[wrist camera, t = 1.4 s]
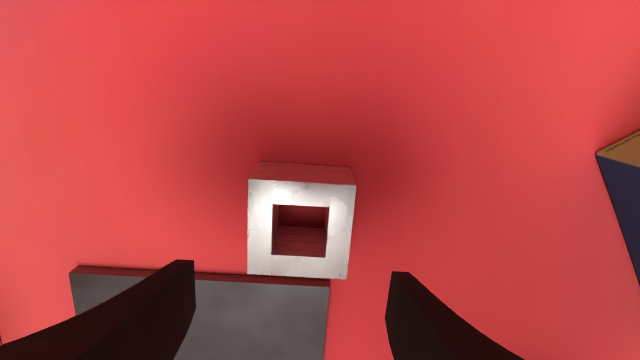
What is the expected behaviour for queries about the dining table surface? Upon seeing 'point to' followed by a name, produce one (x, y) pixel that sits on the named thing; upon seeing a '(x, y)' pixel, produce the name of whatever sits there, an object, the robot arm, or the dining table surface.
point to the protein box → (625, 189)
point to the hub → (300, 242)
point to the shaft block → (231, 313)
